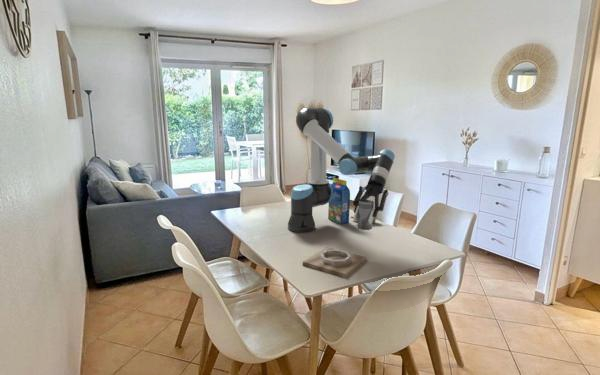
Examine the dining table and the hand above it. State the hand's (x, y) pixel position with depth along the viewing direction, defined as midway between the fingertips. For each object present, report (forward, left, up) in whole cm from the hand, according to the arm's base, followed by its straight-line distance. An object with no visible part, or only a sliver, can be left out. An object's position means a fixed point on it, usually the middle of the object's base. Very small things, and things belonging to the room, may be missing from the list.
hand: (362, 221), depth 155 cm
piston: (0, +4, -4) cm, 5 cm away
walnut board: (-6, -13, -16) cm, 21 cm away
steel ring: (-6, -13, -15) cm, 20 cm away
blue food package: (-33, +41, -16) cm, 55 cm away
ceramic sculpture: (-19, +48, -17) cm, 54 cm away
